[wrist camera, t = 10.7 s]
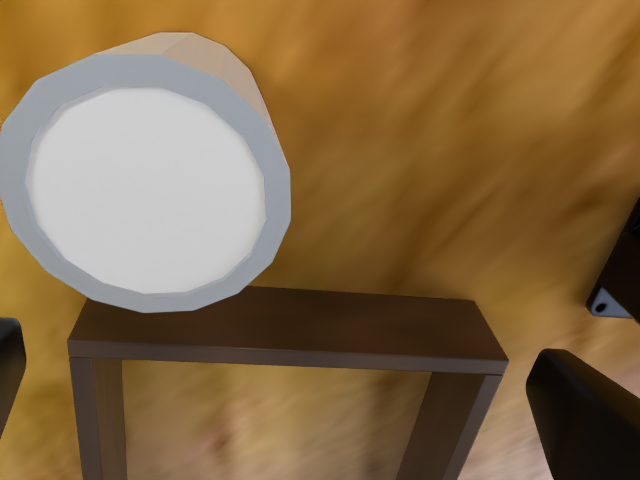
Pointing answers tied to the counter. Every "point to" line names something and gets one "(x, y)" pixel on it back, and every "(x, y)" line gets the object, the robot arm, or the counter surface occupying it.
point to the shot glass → (147, 174)
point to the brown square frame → (296, 360)
